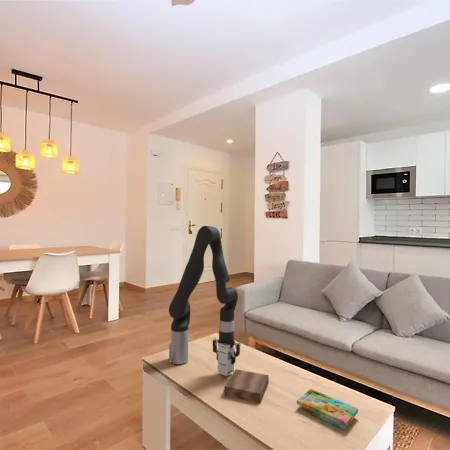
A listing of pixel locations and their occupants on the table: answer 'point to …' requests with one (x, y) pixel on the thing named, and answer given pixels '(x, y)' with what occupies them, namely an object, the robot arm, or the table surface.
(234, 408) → the table surface
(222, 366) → the syrup box
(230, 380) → the walnut base
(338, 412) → the puzzle game
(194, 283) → the robot arm
